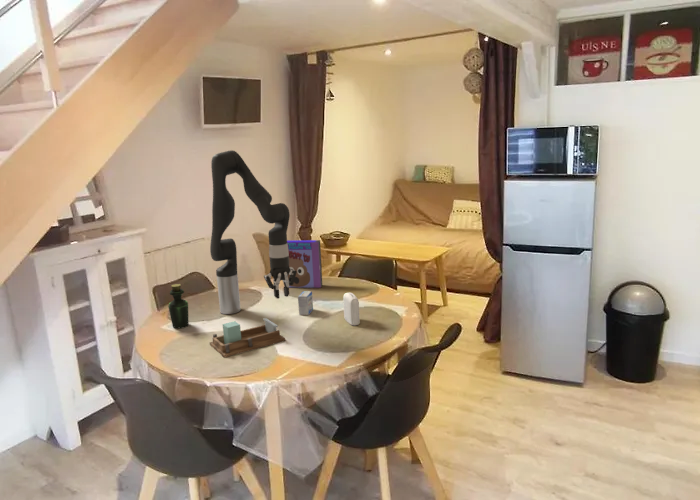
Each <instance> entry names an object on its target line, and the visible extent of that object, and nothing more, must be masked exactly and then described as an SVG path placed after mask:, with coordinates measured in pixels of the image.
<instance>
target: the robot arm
mask: <svg viewBox="0 0 700 500" xmlns="http://www.w3.org/2000/svg"><path fill="white" fill-rule="evenodd" d="M210 163H211V165H210V166H211V167H210V168H211V178H212V207H211V208H212V209H211V211H212V212H211V213H212V214H211V215H212V217H211V218H212V219H211V220H212V222H211V223H212V226H211V237H210V253H209V254H210V257H211V259H212V261H215V262H221V261H226V262H225V263H223V264H222V265H221V266H219V267H217V268H216V271H215V273H216V283H217V294H218V303H219V312H220V313H221V314H223V315H231V314H237V313H239V312H240V311H241V300H240V299H241V298H240V288H239V287H240V286H239V277H238V275H239V274H238V257H237V255H238V254H237V253H238V252H237V244H236V242H235V240H234V239H233V238H223V239H222V237H223V234H225V231H226V230H227V229H228V227H229V226H230V225H231V223H232V222H233V220H234V218H235V213H236V211H235V209H236V202H235V200H234V197H233V196H232V195H231V193H230V191H229V190H228V188H227V185H226V181H227V180H226V178H227V176H230V175H234V174H237V175H238V176H239V177H240V178H241V179H242V182H243V188H244V189H243V190H244V193H245V195H246V196H247V198H248V199H249V200H250V201H251V202H252V203H253V204H254V205H255V206H256V208H257V209H258V212H259V213H260V215H261V217H262V219H263V221H264V222H266V223H268V224H274V226H273V227H272V228H271V229H269V230H268V234H267V235H268V244H269V245H268V256H269V257H268V258H269V268H270V270H269V273H267V274H264V275H263V278H264V281H265V282H266V284H267V286H268V288H269V289H271V290H273V297H274V298H275V299H278V300H279V299H280V289H279V288H280V284H281V281H282V283H283V295H284V297H286V298H287V297H289V296H290V288H289V286H290V285H293V283H294V280H295V276H296V273H297V271H295V270H293V269H292V270H291V269H290V267H289V251H288V245H287V240H288V237H287V236H288V235H287V233H288V229H289V222H290V210H289V207H288V206H287V204H285V203H282V202H280V203H274V204H271V203H272V201H273V197H272V195H271V194H270V192H269V191H268V190H267V189H266V188H265V187H264V186H263V185H262V184H261V183H260V182H259V181H258V179H257V178H256V176H255V175H254V174H253V172H252V171H251V169H250V168H249V167H248V165H247V164H246V162H245V161H244V159H243V158H242V156H241V155H240V154H239V152H237V151H235V150H232V149H231V150H225V151H221V152H218V153H215V154H214V155H213V156H212V157H211V162H210ZM289 273H290V277H289V280H288V275H289ZM272 278H273V279H272Z"/></svg>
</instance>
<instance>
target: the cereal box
mask: <svg viewBox="0 0 700 500" xmlns="http://www.w3.org/2000/svg"><path fill="white" fill-rule="evenodd" d="M287 245H288V251H289V267H290V269H291V270H292V269H293V270H295V271H297V273H296V276H295V280H294V283H293V285H290V286H289V289H291V288H292V289H321V288H322V287H323V270H322V254H321V253H322V252H321V240H320V239H315V240H313V239H308V240H306V239H304V240H297V239H295V240H292V239H291V240H288V239H287ZM289 277H290V273H289V275H288V280H289Z"/></svg>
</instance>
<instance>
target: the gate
mask: <svg viewBox="0 0 700 500" xmlns="http://www.w3.org/2000/svg"><path fill="white" fill-rule="evenodd" d="M262 321H263V322H264V325H265V328H266V331H267V332H268V333H269V332H273V331H277V328H278V326H279V325H278V324H276V323H275V322H273V321H271V320H269V319H268V318H267V317H264V318H262Z"/></svg>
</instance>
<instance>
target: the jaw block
mask: <svg viewBox="0 0 700 500" xmlns="http://www.w3.org/2000/svg"><path fill="white" fill-rule="evenodd" d="M241 331H242V330H241V324H240V323H238V322H237V321H236V320H235V321H229V322H226V323H222V333H223V335H224V344H228V343H231V342H235V341H239V340H241Z"/></svg>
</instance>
